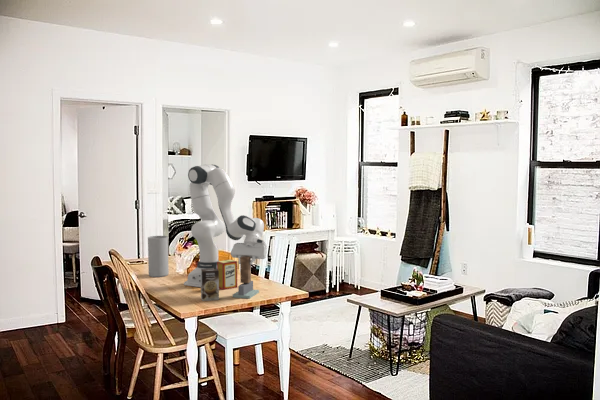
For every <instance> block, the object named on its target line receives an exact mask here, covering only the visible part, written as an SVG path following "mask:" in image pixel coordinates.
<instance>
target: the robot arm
mask: <svg viewBox="0 0 600 400" xmlns="http://www.w3.org/2000/svg"><path fill="white" fill-rule="evenodd" d="M187 176H188V180H189V182H190V183H189V195H190V199H191V203H192V207H193V211H194V213H195V214H196V215H197V216H199V218H200V220H199V221H198V222H194V224H192V226H191V230H190V231H191V235H192V237H193V238H194V239H195V240H196V241H197V245H198V249H199V251H198V252H199V260H198V261H197V262H196V263H195V266H196V265H197V266H196V267H195V268H194V269H193V270H192V271H190V272H189V273H188V275H187V280H186V281H184V282H183V286H188V287H197V288H201V269H217V261H220V260H219V248H218V245H216V243H215V241H214V240H215V239H214V238H215V237H216V238H217V237H219V236H221V235H222V234H223V233H224V232H225V233H226V236H227V237H228V238H229V239H230V240H232V241H239V240H241V239H242V238H243V237H244V236H245V237H244V241H243V242H236V243H234V244H233V246H232V248H231V251H230V256H231V258H233V259H234V258H237V259H238V264H239V265H240V257H243V256H247V257H251V261H250V260H249V265H251V266H252V265H253V263H254V262H255V261H256V260H265V259H266V258H267V253H268V251H267V249H268V247H267V244H266V241H265V240H264V239H262V237H263V233H264V229H265V222H264V221H263V220H262V218H259V217H254V218H253V217H249V216H247V215H239V216H238V217H237V218H236V219H235V216H234V214H233V212H232V208H231V206H232V202H233V199H234V196H235V193H236V189H235V187H234V183H233V182H232V179H231V178H230V176H229V175H228V173H227V172H226V170H225V169H223V168H222V167H220V166H218V165H216V164H201V165H194V166H192V167H191V168H189V170H188V172H187ZM209 185H210V186H212V188H213V190H214V192H215V195H216V198H217V204H218V209H219V211H220V214H221V217H222V219H221V218H219V216H218V215H217V213H216V211H215V209H214V206H213V203H212V199H211V195H210V192H209Z"/></svg>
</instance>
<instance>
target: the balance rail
mask: <svg viewBox="0 0 600 400" xmlns="http://www.w3.org/2000/svg"><path fill="white" fill-rule="evenodd" d="M237 289H238V290H237V291H236V292H234V293H232V298H235V299H237V298H238V299H249V300H250V299H252V298H253V297H254V296H256V295H257V294H259V293H260V289H254V280H251V282H249V283H241V284H240V285H237Z"/></svg>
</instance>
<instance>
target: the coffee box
mask: <svg viewBox="0 0 600 400" xmlns="http://www.w3.org/2000/svg"><path fill="white" fill-rule="evenodd" d="M200 298H201V301H202V302H205V301H207V302H208V301H219V300H220V289H219V270H218V269H201V287H200Z"/></svg>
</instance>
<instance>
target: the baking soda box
mask: <svg viewBox="0 0 600 400" xmlns="http://www.w3.org/2000/svg"><path fill="white" fill-rule="evenodd" d="M217 269H218V270H219V290H222V291H224V290H231V289H236V288H237V289H238V261H237V260H234V259H225V260H219V261H217Z"/></svg>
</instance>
